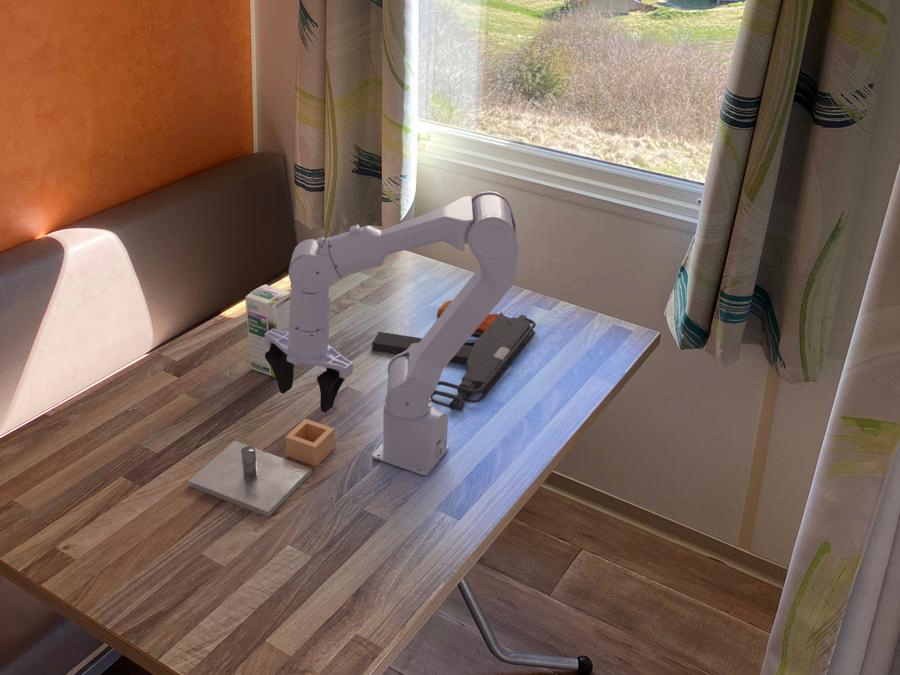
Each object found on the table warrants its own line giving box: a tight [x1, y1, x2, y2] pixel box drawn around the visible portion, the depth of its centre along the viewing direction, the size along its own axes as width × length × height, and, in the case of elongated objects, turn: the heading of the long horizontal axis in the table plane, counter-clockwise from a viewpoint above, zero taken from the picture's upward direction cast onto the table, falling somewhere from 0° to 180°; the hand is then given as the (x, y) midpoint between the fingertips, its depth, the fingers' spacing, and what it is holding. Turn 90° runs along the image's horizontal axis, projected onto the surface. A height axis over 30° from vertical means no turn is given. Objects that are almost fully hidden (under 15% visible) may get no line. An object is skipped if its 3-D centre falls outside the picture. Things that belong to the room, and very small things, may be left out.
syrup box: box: [245, 284, 291, 379], centre depth 167 cm, size 6×6×14 cm
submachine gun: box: [371, 299, 537, 411], centre depth 177 cm, size 32×3×25 cm
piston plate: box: [188, 440, 312, 518], centre depth 143 cm, size 14×11×6 cm
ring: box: [284, 418, 336, 467], centre depth 150 cm, size 5×5×4 cm
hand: (306, 399), depth 146 cm, fingers open, 7 cm apart
